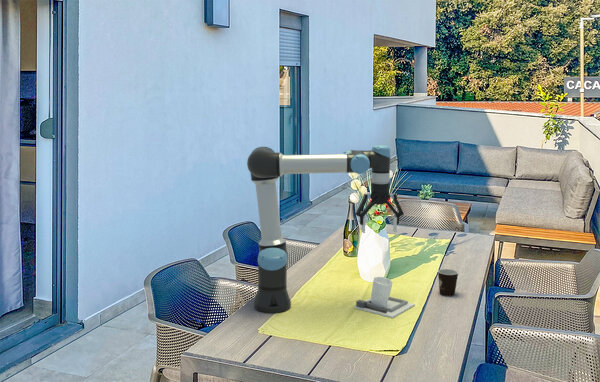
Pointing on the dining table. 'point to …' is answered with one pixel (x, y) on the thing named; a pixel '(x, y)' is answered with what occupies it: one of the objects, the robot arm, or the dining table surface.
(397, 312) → the dock
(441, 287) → the coffee mug
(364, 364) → the dining table surface
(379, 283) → the white cup
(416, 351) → the dining table surface
